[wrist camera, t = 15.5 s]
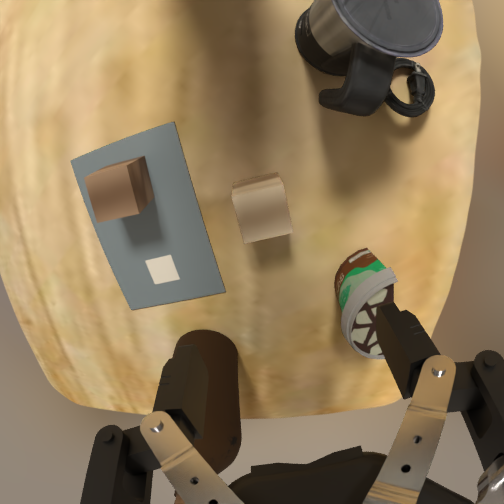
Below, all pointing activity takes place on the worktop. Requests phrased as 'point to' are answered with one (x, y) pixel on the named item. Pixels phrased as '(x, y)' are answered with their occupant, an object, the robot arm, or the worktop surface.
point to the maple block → (261, 208)
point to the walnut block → (120, 189)
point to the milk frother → (370, 50)
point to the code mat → (155, 225)
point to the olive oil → (217, 399)
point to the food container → (363, 299)
